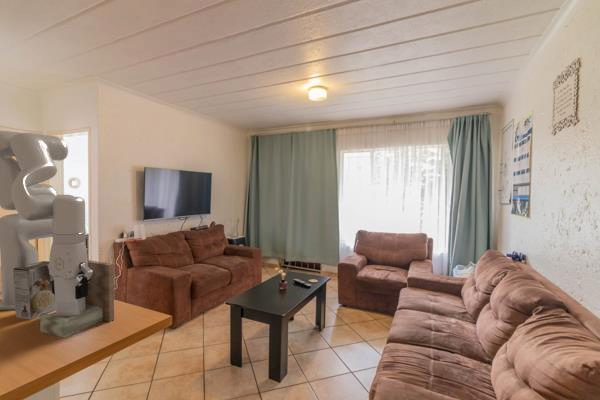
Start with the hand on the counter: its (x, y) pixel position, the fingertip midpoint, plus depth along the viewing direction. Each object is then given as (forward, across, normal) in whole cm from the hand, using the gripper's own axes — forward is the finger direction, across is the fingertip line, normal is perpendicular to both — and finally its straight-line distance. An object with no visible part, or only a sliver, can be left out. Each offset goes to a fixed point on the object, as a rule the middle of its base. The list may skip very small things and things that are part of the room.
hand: (69, 294), depth 86 cm
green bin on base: (+10, -1, +1) cm, 10 cm away
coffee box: (+10, -18, +2) cm, 21 cm away
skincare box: (+6, +1, 0) cm, 6 cm away
